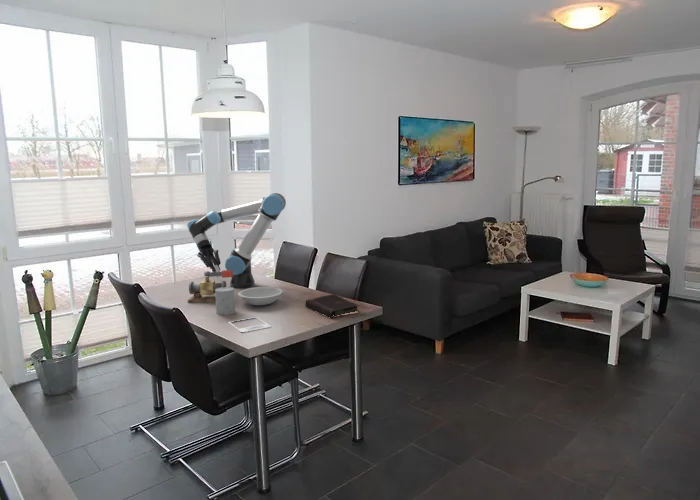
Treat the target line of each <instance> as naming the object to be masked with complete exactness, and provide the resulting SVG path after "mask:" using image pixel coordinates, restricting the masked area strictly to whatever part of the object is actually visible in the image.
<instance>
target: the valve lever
mask: <svg viewBox="0 0 700 500" xmlns="http://www.w3.org/2000/svg"><path fill="white" fill-rule="evenodd" d="M203 274H204V275H203V276H204V277H209V278H212V277H213V278H214V277H217V276H220V277H221V278H222V279H224V278H231V277H233V270H226V269H225V270H221V271H220V272H213V271H212V272H211V271H204V272H203Z"/></svg>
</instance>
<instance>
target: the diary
mask: <svg viewBox="0 0 700 500" xmlns="http://www.w3.org/2000/svg"><path fill="white" fill-rule="evenodd" d="M304 305H305V308H306V307H308V308H307V309H309V308H310V309H309V310H311V309H312V311H313V310H314V311H313V312H315V311H317V312H319V313H321V314H320V315H322V314H324V315H326V316H328V317H330V318H331V316H333V315H334V316H337V315H341V314H345V313H350V312H355V311H358V307H359V306H360V305H359V304H357V303H355V302H353V301H349V300H347V299H346V298H343V297H341V296H339V295H336V294H328V295H323V296H318V297H315V298H310V299H306V300H305V303H304ZM317 312H316V313H317ZM319 313H318V314H319ZM324 315H323V316H324ZM326 316H325V317H326ZM328 317H327V318H328ZM330 318H329V319H330Z"/></svg>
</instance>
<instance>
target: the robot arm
mask: <svg viewBox="0 0 700 500" xmlns="http://www.w3.org/2000/svg"><path fill="white" fill-rule="evenodd" d="M286 205H287V204H286V199H285V196H283V195H282V194H280V193H277V192H276V193H271V194H268V195H267V196H265V197H264V196H263V197H262V198H261V199H259V200H255V201H252V202H248V203H244V204H240V205H236V206H233V207H228V208H224V209H221V210H216V211H215V210H212V211H210V212H208V213H207V214H206V215H204V216H203V217H202V218H200V219H197V218H194V219H192V220H190V221H188V223H187V228H188V232H189V233H190V235H191V237H192V239H193V241H194V243H195V245H196V246H197V249H198V251H199V252H198V253H197V254H196V255H197V257H198V258H199V259H200V260H201V261H202V262H203V264H204V265H205V266H206V267H207V268H209V269H210V270H211V271H212V272H221V267H220V265H221V258H220V256H219V250H218V249H217V250H215V249H214V248H213V247H212V243H211V242H210V240H209V238H208V236H207V233H206V232H207V231H208V230H210V229H212V228H213V227H214V226H216V225H219V224H222V223H225V222H226V223H227V222H230V221H233V220H234V221H235V220H237V219H238V220H239V219H242V218H245V217H250V216H254V215H257V214H258V215H257V217H256V218H255V220H254V221H253V222H252V224H251V226H250V228H249V229H248V231H247V233H246V235H245V236H244V237H243V239H242V241H241V242H240V244H239V246H238V247H235V248H233V249H231V252H230V255H229V256H228V258H226V259H225V264H224V267H225V270H233V277H230V282H229V287H233V288H234V289H235V288H236V289H247V288H252V287H253V286H255V285H256V284H255V279H254V275H253V273H252V254H253V252H254V251H255V249H256V248H257V246H258V244H259V243H260V241H261V240H262V238H263V236H264V235H265V233H266V232H267V230H268V229H269V227H270V225H271V223H272V222H275V221H276V220H277V219H278V217H279V216H280V214H281V213H282V211H284V209H286ZM220 277H221V276H216V278H220Z"/></svg>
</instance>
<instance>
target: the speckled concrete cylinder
mask: <svg viewBox="0 0 700 500" xmlns="http://www.w3.org/2000/svg"><path fill="white" fill-rule="evenodd" d="M214 295H215V296H216V302H215V312H216V314H217V315H219V316H229V315H231V314H235V312H236V305H235V304H236V303H235V288H234V287H231V286H226V287H220V288H216V289H215V294H214Z"/></svg>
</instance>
